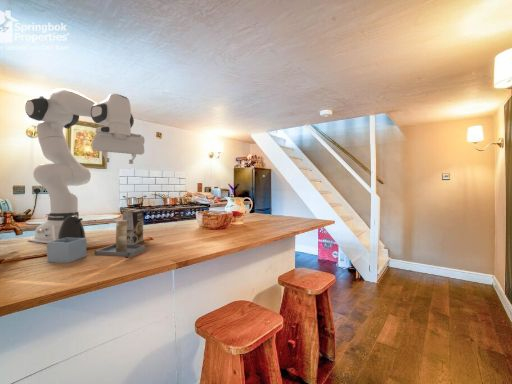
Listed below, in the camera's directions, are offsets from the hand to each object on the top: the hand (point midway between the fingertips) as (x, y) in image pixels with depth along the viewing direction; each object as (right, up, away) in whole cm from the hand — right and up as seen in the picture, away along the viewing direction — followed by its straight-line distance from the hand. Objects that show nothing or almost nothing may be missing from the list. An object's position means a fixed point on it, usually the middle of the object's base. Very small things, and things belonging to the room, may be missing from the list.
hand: (119, 163), depth 108 cm
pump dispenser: (-21, -39, 0) cm, 44 cm away
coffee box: (-2, -39, +15) cm, 42 cm away
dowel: (+3, -38, -3) cm, 39 cm away
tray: (+3, -39, -3) cm, 39 cm away
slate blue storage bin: (-12, -39, -15) cm, 44 cm away
